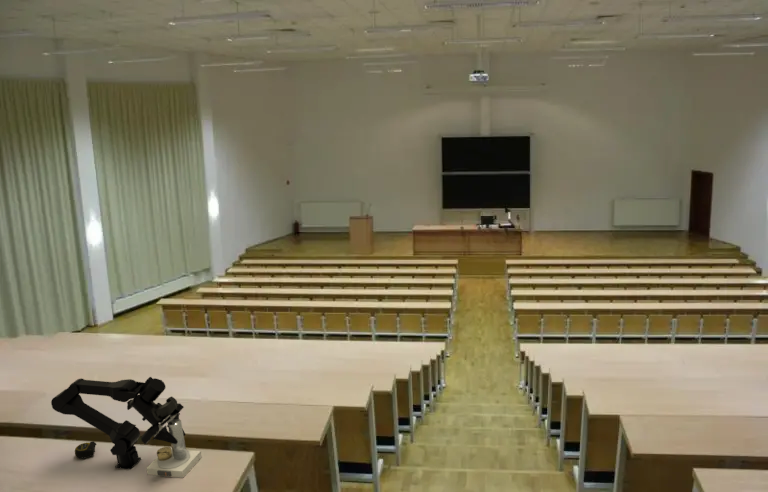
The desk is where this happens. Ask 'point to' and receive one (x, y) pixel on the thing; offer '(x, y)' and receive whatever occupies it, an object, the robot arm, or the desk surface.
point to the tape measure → (85, 450)
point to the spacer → (177, 438)
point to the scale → (174, 465)
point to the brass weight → (164, 453)
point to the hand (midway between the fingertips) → (180, 439)
